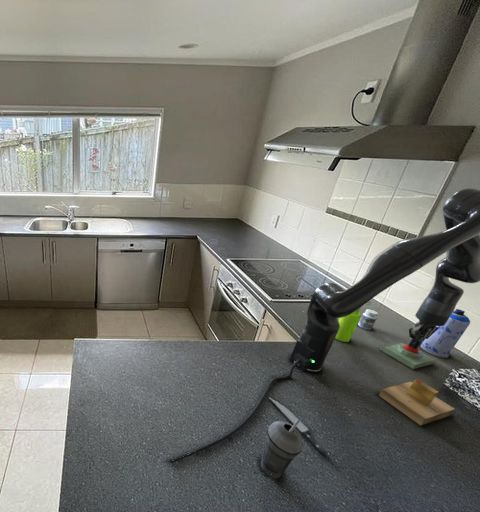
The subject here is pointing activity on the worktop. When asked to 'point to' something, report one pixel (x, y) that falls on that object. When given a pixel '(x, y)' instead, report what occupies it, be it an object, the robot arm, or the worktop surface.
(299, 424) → the chef's knife
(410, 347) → the alarm button
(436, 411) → the lock plate
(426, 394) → the lock knob
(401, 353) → the box
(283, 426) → the beverage cup
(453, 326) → the aerosol can
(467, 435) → the worktop surface
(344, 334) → the soap dispenser
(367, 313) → the pill bottle
